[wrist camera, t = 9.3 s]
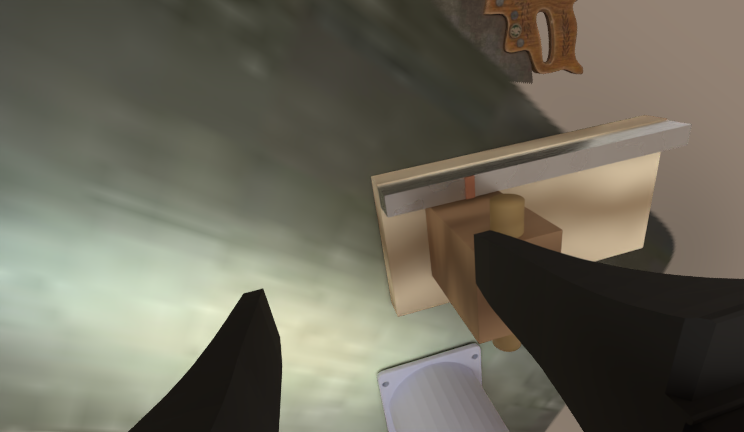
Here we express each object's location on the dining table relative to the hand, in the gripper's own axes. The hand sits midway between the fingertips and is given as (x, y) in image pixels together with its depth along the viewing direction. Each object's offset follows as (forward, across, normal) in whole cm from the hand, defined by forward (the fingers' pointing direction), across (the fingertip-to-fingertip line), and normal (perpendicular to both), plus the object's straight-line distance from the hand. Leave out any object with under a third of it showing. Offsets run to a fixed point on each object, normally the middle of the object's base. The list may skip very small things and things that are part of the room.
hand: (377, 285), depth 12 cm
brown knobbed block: (+8, -6, +4) cm, 11 cm away
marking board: (+9, -11, +4) cm, 15 cm away
